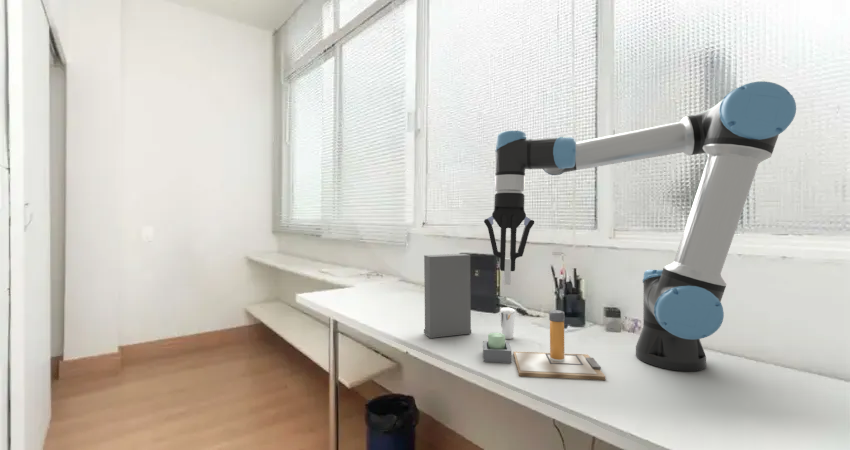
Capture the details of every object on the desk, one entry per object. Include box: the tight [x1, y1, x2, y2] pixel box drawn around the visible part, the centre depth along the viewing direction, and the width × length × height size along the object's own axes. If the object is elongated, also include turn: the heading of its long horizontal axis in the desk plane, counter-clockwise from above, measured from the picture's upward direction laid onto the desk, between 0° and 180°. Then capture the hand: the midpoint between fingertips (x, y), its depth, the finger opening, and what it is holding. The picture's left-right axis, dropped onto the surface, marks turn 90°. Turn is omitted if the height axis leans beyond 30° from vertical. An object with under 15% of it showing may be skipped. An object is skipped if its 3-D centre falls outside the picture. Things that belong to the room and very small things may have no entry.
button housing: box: [482, 340, 512, 364], centre depth 101 cm, size 7×7×3 cm
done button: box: [487, 332, 506, 349], centre depth 101 cm, size 4×4×4 cm
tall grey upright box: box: [423, 253, 472, 339], centre depth 121 cm, size 14×6×25 cm, turn 108°
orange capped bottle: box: [548, 309, 566, 362], centre depth 96 cm, size 4×4×12 cm
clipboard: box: [513, 351, 606, 381], centre depth 94 cm, size 19×14×1 cm
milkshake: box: [499, 305, 519, 340], centre depth 117 cm, size 4×5×10 cm
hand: (506, 283), depth 100 cm, fingers closed
